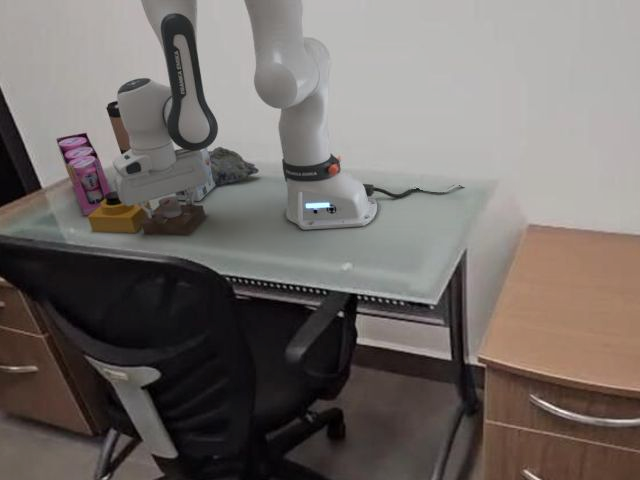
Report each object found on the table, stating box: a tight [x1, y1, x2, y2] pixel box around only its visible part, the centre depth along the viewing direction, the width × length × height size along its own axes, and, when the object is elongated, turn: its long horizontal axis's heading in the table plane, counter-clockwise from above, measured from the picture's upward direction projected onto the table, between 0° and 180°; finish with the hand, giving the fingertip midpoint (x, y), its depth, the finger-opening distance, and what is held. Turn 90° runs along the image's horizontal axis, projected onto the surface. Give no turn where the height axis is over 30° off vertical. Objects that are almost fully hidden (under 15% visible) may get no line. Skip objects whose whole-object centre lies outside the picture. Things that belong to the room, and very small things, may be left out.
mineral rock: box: [208, 146, 259, 186], centre depth 165 cm, size 13×11×10 cm
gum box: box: [56, 132, 112, 216], centre depth 158 cm, size 24×8×14 cm, turn 31°
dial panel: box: [141, 204, 206, 236], centre depth 147 cm, size 11×10×3 cm
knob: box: [158, 195, 182, 218], centre depth 145 cm, size 4×4×4 cm
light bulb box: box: [174, 147, 217, 202], centre depth 159 cm, size 11×7×11 cm, turn 171°
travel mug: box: [105, 100, 131, 155], centre depth 168 cm, size 8×8×20 cm
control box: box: [86, 199, 152, 234], centre depth 148 cm, size 11×9×6 cm
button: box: [105, 190, 121, 205], centre depth 146 cm, size 4×4×2 cm
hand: (171, 211), depth 146 cm, fingers open, 8 cm apart
